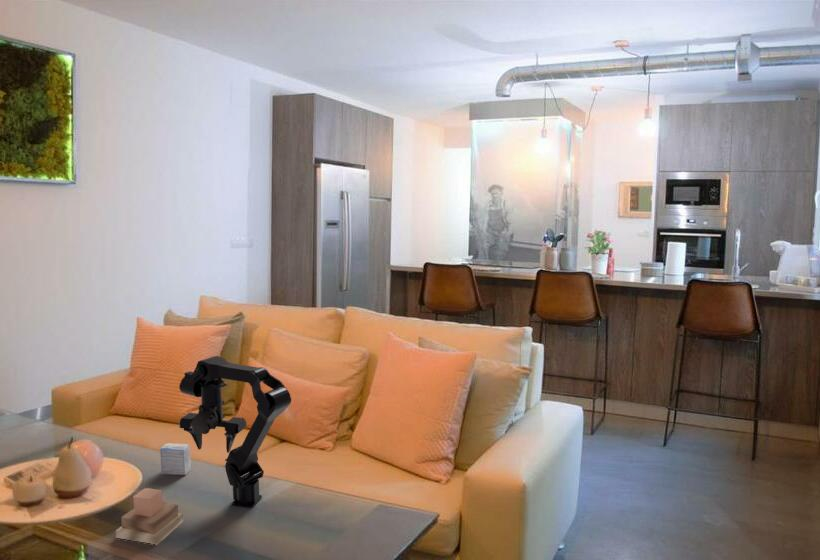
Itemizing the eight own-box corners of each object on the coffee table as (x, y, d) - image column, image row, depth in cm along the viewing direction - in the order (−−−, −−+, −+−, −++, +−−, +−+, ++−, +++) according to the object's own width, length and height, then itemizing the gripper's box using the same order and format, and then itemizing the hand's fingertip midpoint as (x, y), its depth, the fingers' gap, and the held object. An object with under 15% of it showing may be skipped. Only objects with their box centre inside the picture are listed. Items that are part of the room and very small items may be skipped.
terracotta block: (163, 507, 184) (161, 490, 183) (150, 517, 179) (149, 499, 178) (147, 505, 185) (145, 487, 184) (134, 514, 181) (133, 496, 180)
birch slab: (183, 523, 187) (182, 513, 187) (157, 547, 176) (156, 536, 175) (144, 518, 190) (143, 508, 190) (116, 541, 179) (115, 530, 178)
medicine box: (191, 469, 218) (190, 443, 217) (185, 476, 214) (184, 449, 212) (167, 468, 219) (166, 442, 218) (161, 474, 215) (159, 448, 213)
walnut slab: (178, 515, 186) (177, 504, 186) (154, 534, 177) (153, 523, 176) (147, 509, 189) (146, 499, 188) (122, 527, 180) (121, 517, 179)
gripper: (167, 406, 194) (170, 458, 197) (227, 412, 190) (230, 465, 193) (188, 393, 205) (191, 443, 208) (246, 399, 201) (248, 449, 203)
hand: (214, 450), depth 203 cm, fingers open, 9 cm apart
